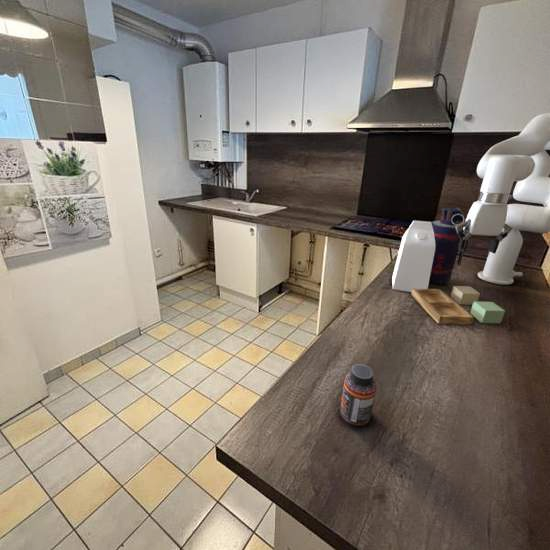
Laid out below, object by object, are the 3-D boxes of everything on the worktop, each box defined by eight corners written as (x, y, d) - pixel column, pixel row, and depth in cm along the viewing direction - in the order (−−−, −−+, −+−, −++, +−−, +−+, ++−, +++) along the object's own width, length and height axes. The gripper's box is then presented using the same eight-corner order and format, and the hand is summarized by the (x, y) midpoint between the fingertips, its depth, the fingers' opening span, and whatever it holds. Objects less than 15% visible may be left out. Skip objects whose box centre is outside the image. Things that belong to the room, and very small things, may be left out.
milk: (422, 282, 120) (437, 220, 110) (426, 294, 110) (443, 226, 100) (391, 278, 123) (403, 217, 113) (392, 289, 113) (405, 223, 103)
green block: (487, 313, 97) (492, 301, 95) (500, 323, 92) (505, 310, 90) (470, 313, 97) (473, 301, 95) (481, 322, 92) (485, 310, 90)
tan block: (466, 297, 108) (469, 286, 106) (476, 304, 103) (480, 293, 101) (450, 296, 108) (453, 285, 106) (459, 304, 103) (463, 293, 101)
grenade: (418, 283, 119) (435, 209, 108) (416, 272, 129) (432, 204, 118) (456, 289, 115) (478, 212, 103) (452, 278, 125) (471, 207, 113)
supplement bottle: (336, 403, 61) (342, 360, 57) (363, 402, 61) (371, 359, 57) (344, 428, 55) (352, 382, 51) (374, 426, 56) (384, 381, 52)
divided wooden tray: (438, 295, 109) (440, 289, 108) (471, 324, 91) (474, 317, 90) (411, 294, 109) (412, 288, 108) (438, 323, 91) (440, 316, 90)
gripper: (512, 197, 93) (495, 249, 99) (457, 196, 93) (444, 247, 100) (530, 201, 86) (511, 256, 92) (470, 199, 86) (455, 254, 93)
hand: (476, 251), depth 96 cm, fingers open, 9 cm apart
